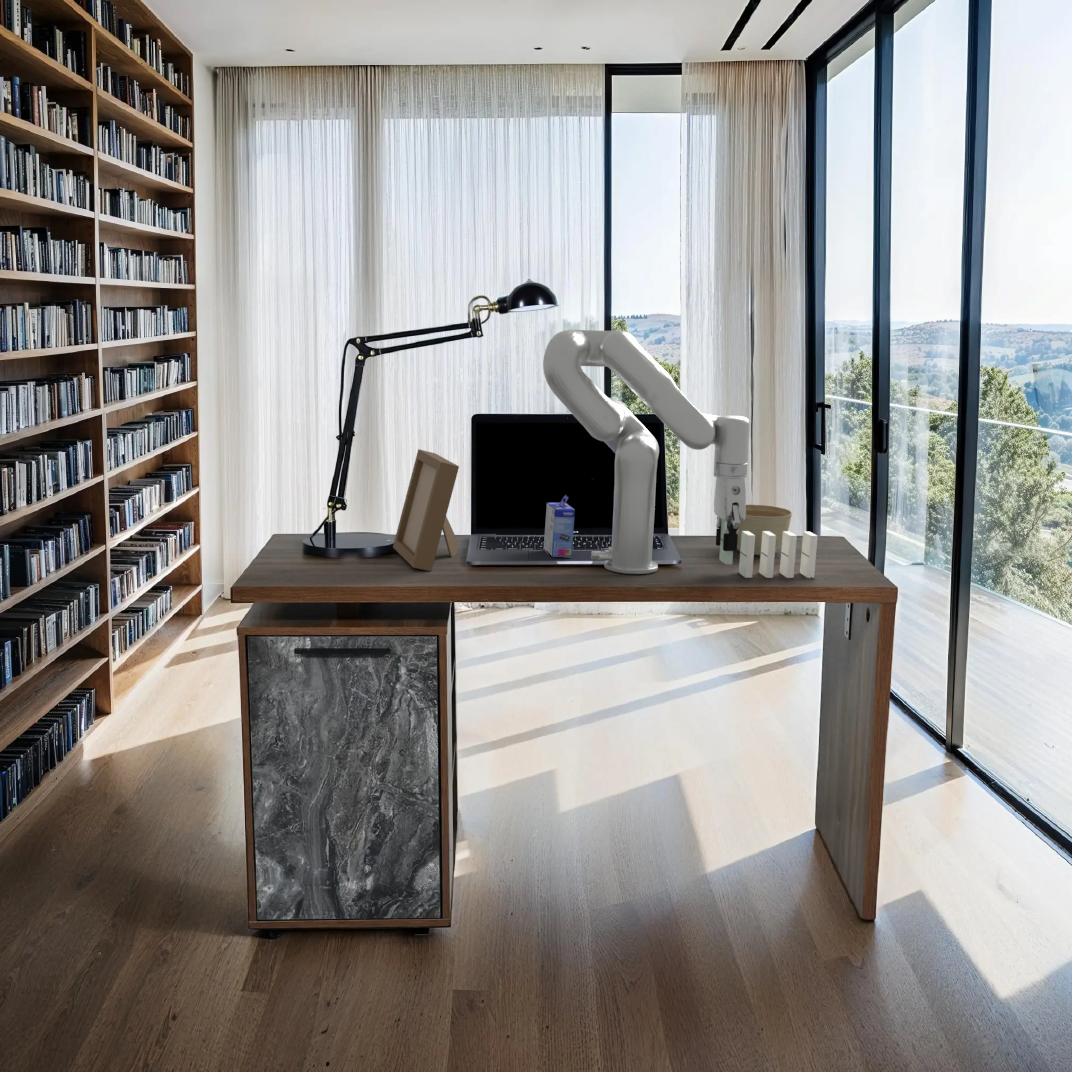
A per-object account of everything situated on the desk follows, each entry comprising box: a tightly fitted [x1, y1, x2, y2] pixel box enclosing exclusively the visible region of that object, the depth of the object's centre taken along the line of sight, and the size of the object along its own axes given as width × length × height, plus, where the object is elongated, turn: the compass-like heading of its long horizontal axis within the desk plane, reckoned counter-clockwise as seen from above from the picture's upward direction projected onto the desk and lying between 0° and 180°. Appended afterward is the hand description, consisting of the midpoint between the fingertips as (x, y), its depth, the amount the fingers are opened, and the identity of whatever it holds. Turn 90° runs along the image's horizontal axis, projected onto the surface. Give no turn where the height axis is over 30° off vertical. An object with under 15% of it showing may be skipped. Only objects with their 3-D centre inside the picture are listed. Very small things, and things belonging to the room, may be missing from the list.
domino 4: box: [779, 530, 798, 579], centre depth 266 cm, size 2×5×10 cm, turn 8°
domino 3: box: [758, 531, 776, 579], centre depth 265 cm, size 2×5×10 cm, turn 8°
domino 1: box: [718, 518, 734, 565], centre depth 263 cm, size 2×5×10 cm, turn 8°
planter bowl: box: [730, 504, 793, 556], centre depth 290 cm, size 16×16×11 cm
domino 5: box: [799, 530, 819, 579], centre depth 266 cm, size 2×5×10 cm, turn 8°
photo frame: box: [392, 448, 460, 572], centre depth 267 cm, size 15×22×25 cm
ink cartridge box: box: [543, 494, 576, 556], centre depth 279 cm, size 10×6×14 cm, turn 11°
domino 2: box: [738, 531, 755, 579], centre depth 264 cm, size 2×5×10 cm, turn 8°
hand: (726, 547), depth 263 cm, fingers closed on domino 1, 4 cm apart
